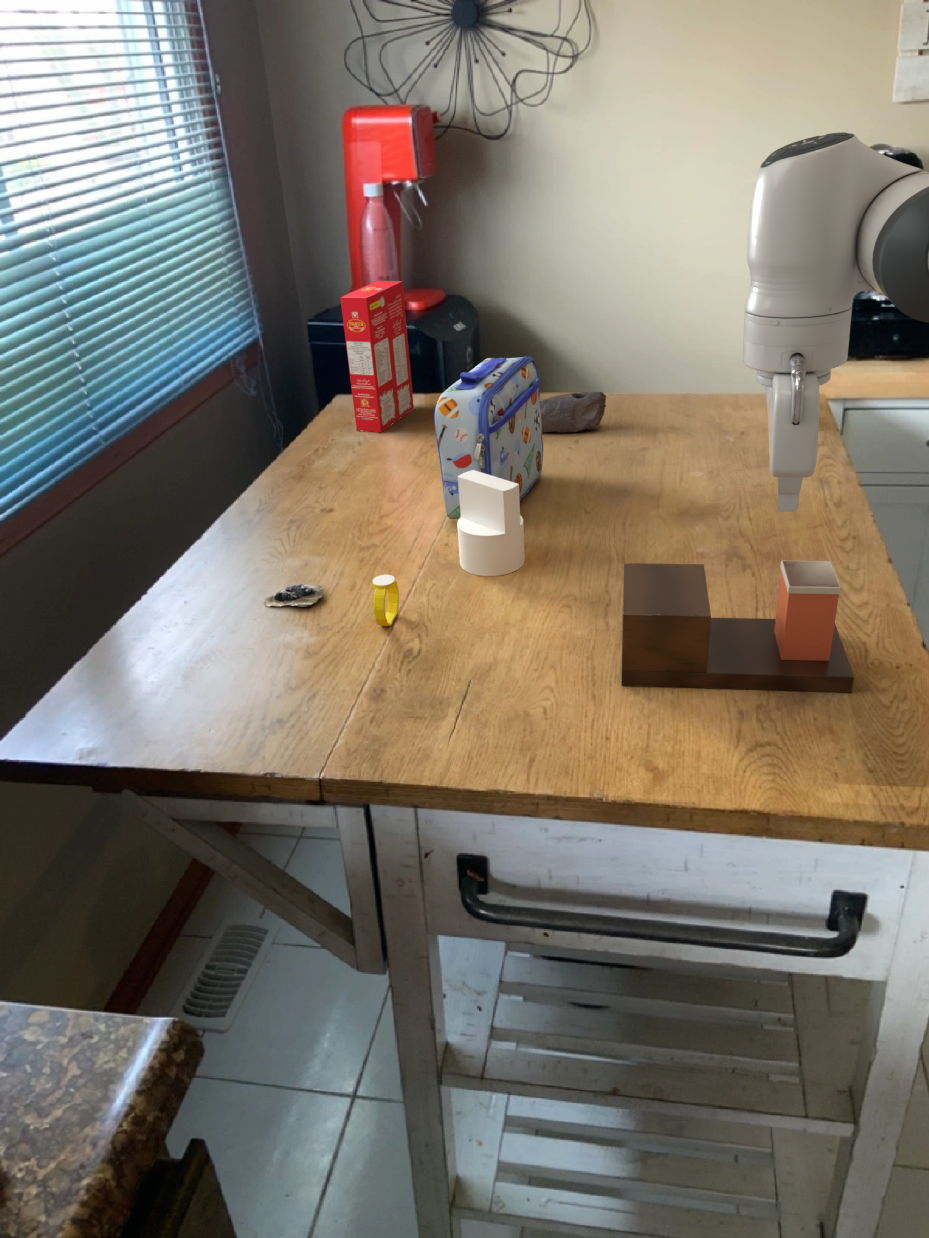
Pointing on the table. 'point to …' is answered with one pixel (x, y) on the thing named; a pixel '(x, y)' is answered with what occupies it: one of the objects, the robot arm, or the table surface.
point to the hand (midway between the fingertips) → (785, 490)
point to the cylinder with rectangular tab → (489, 525)
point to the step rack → (708, 640)
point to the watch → (381, 587)
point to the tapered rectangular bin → (806, 610)
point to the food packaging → (378, 354)
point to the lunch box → (490, 426)
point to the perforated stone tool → (572, 412)
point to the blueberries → (295, 596)
